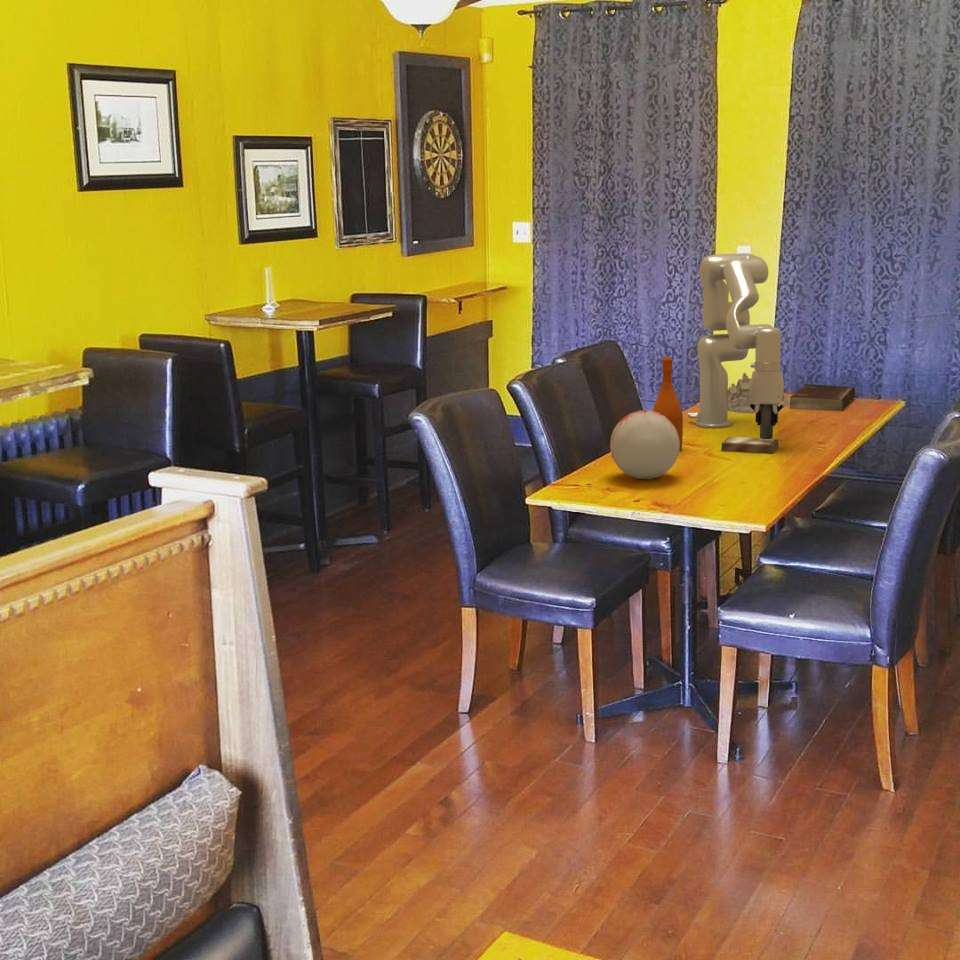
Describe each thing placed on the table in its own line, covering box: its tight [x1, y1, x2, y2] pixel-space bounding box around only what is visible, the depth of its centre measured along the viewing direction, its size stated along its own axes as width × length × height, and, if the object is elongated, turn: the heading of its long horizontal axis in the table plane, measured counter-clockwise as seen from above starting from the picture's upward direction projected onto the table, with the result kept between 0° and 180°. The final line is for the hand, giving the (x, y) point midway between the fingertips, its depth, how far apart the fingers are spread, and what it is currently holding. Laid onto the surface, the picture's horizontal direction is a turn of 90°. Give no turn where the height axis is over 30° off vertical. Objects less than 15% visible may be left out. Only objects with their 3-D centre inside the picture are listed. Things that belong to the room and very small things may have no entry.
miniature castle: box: [728, 372, 756, 414], centre depth 455 cm, size 16×16×15 cm
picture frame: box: [721, 436, 779, 455], centre depth 390 cm, size 16×10×3 cm, turn 66°
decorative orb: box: [609, 409, 681, 480], centre depth 355 cm, size 21×20×20 cm
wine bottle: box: [652, 356, 684, 451], centre depth 390 cm, size 10×10×30 cm
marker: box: [759, 404, 774, 439], centre depth 386 cm, size 4×4×14 cm
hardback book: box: [789, 383, 856, 412], centre depth 462 cm, size 29×19×5 cm, turn 155°
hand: (766, 424), depth 386 cm, fingers closed on marker, 4 cm apart
